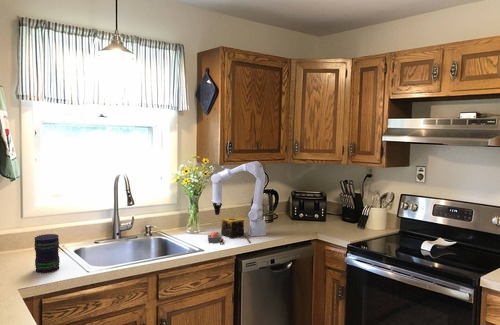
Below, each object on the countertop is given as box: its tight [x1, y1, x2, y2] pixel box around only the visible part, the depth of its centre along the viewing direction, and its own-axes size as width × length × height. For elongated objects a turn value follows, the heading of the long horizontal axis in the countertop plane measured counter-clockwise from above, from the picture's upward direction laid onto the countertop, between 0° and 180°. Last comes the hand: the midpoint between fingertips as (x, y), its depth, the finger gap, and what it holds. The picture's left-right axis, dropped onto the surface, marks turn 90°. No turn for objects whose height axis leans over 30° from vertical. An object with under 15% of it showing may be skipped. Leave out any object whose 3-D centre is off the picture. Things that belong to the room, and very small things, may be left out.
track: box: [215, 232, 252, 246], centre depth 243 cm, size 17×25×1 cm
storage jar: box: [34, 233, 60, 274], centre depth 186 cm, size 10×10×15 cm
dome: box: [210, 231, 218, 237], centre depth 236 cm, size 4×4×5 cm
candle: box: [220, 216, 245, 239], centre depth 248 cm, size 10×10×10 cm
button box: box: [207, 234, 222, 244], centre depth 236 cm, size 7×7×3 cm
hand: (217, 214), depth 259 cm, fingers closed
